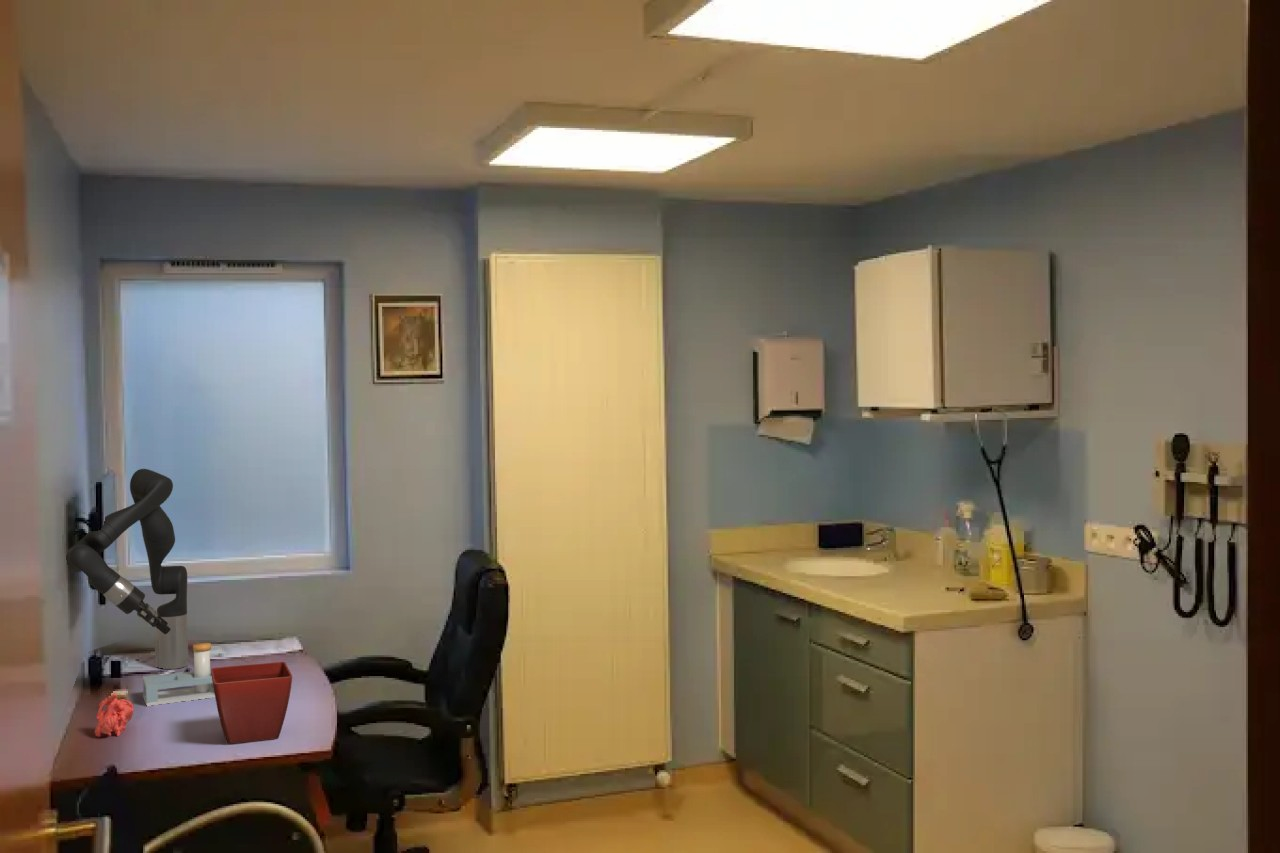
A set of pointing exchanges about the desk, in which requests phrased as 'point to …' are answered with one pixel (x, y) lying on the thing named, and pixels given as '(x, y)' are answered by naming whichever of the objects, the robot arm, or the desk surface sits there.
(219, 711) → the plant pot
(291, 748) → the desk surface
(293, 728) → the desk surface
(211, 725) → the desk surface
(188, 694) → the grey hollow block
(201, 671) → the orange ball-topped peg
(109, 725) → the anatomical heart
